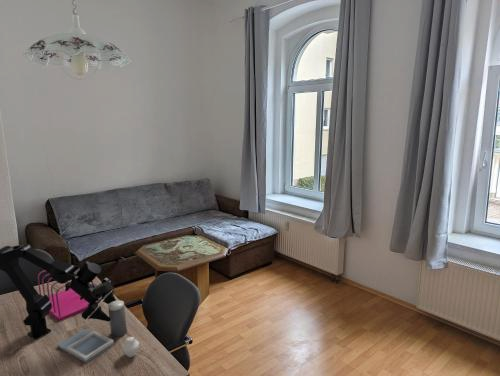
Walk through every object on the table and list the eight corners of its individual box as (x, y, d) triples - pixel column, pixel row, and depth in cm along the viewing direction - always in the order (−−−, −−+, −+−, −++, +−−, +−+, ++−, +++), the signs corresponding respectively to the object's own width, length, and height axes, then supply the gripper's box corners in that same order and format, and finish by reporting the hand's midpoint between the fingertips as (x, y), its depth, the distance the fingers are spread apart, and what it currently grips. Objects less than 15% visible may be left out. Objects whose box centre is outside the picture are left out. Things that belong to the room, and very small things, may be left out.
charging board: (57, 347, 136) (56, 342, 136) (85, 330, 146) (85, 326, 146) (86, 363, 127) (85, 358, 127) (114, 344, 137) (113, 340, 137)
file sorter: (75, 289, 183) (71, 261, 179) (98, 305, 166) (94, 274, 163) (38, 302, 170) (33, 272, 167) (59, 322, 154) (54, 288, 150)
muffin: (135, 346, 136) (133, 330, 134) (142, 354, 131) (141, 337, 130) (119, 354, 132) (118, 337, 130) (126, 362, 127) (125, 345, 126)
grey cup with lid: (108, 334, 144) (104, 305, 141) (120, 327, 149) (117, 299, 146) (117, 339, 140) (114, 309, 138) (129, 331, 145) (127, 302, 143)
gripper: (85, 287, 130) (118, 314, 132) (107, 266, 149) (135, 289, 151) (67, 306, 132) (99, 332, 134) (91, 283, 151) (119, 306, 152)
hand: (114, 314), depth 143 cm, fingers open, 9 cm apart
